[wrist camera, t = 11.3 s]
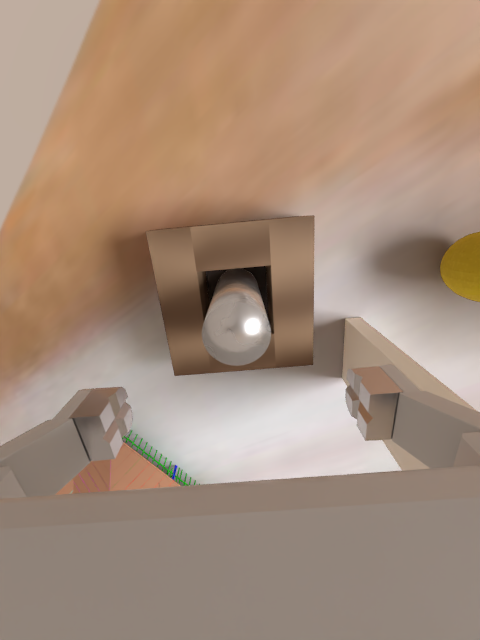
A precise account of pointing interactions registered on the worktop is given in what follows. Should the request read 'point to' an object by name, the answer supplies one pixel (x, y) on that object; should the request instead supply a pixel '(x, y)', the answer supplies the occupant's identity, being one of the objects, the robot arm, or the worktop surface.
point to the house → (122, 474)
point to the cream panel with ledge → (376, 350)
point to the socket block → (229, 253)
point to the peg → (236, 320)
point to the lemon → (463, 267)
